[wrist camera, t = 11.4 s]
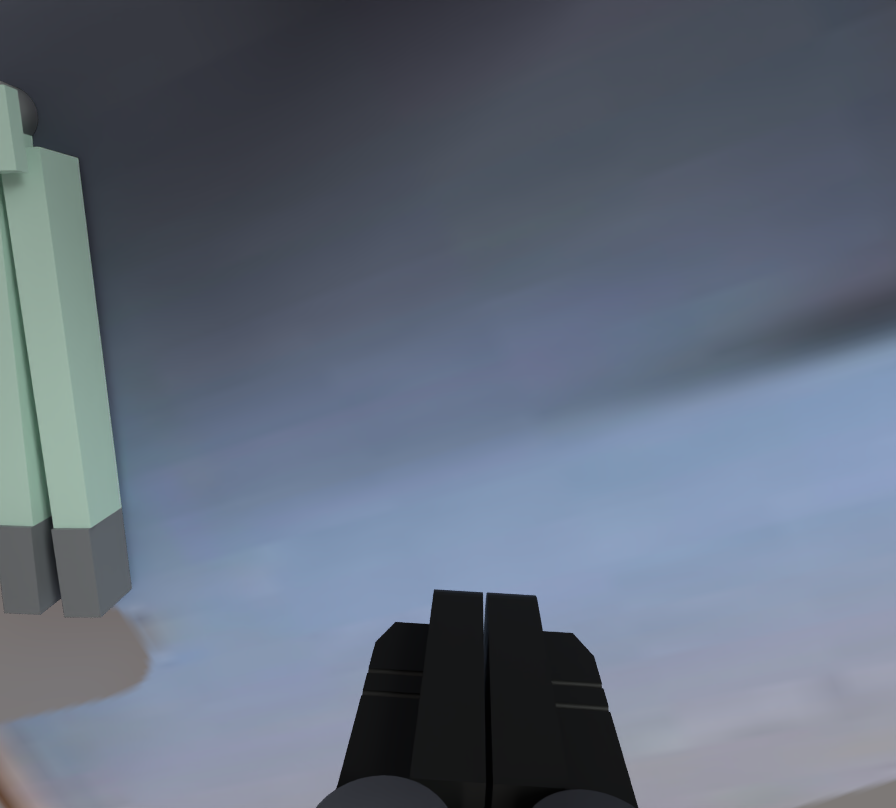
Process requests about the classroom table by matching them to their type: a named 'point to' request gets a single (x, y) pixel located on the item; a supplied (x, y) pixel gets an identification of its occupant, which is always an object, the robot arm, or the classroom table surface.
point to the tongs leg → (21, 442)
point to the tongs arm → (65, 366)
